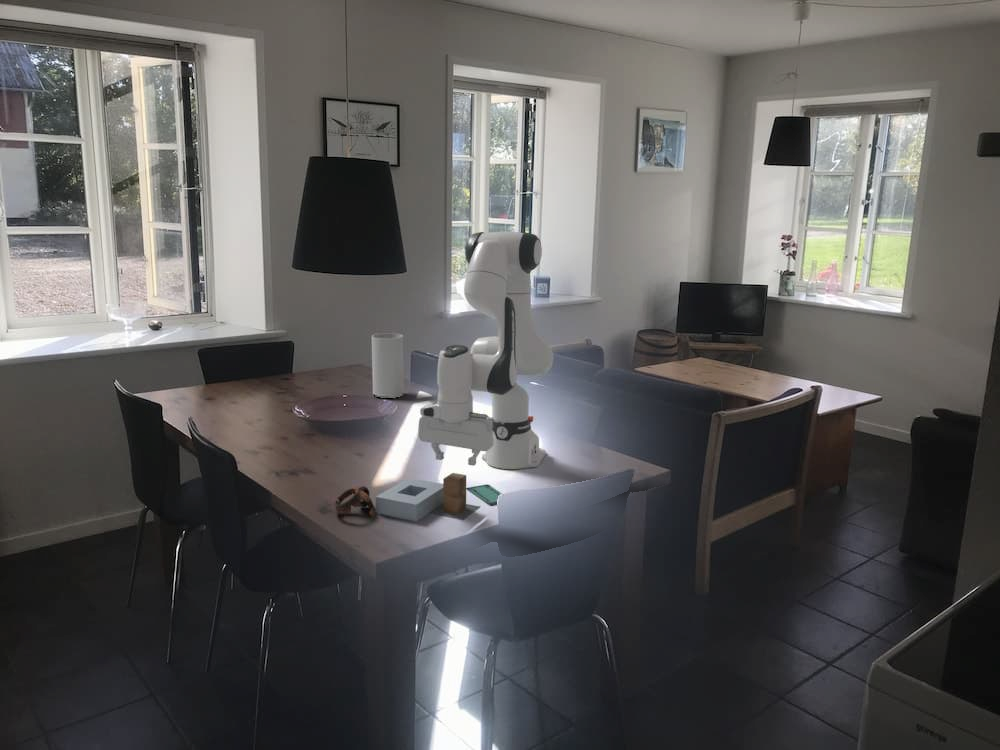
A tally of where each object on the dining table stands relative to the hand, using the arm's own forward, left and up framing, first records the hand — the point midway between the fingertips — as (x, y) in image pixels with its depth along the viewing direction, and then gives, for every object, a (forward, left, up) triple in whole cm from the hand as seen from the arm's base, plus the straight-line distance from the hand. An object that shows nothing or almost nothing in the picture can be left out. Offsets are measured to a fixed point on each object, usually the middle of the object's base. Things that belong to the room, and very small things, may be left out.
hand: (455, 461), depth 204 cm
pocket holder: (+4, -11, -14) cm, 18 cm away
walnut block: (+1, 0, -13) cm, 13 cm away
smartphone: (-13, +3, -14) cm, 20 cm away
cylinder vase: (-97, -84, -14) cm, 129 cm away
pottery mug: (+13, -21, -14) cm, 29 cm away
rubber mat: (+1, 0, -14) cm, 14 cm away
